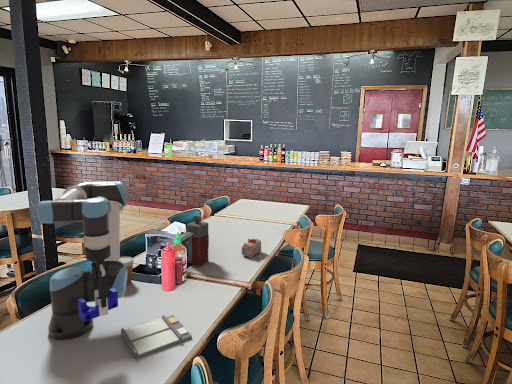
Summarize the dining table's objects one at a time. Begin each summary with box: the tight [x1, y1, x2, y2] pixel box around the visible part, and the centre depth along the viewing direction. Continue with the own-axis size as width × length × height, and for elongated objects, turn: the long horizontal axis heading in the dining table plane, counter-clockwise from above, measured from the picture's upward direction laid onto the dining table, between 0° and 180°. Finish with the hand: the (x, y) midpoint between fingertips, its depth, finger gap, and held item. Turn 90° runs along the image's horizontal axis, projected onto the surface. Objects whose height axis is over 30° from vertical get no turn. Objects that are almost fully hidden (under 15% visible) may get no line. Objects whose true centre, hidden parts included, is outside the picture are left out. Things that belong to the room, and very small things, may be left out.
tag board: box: [120, 314, 193, 360], centre depth 131 cm, size 17×21×2 cm
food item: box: [241, 238, 262, 259], centre depth 213 cm, size 14×8×10 cm, turn 152°
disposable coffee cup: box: [120, 256, 135, 286], centre depth 172 cm, size 10×10×12 cm
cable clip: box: [78, 288, 119, 322], centre depth 117 cm, size 12×4×6 cm, turn 137°
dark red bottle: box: [185, 214, 210, 267], centre depth 198 cm, size 9×11×28 cm
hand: (101, 310), depth 118 cm, fingers closed on cable clip, 5 cm apart
